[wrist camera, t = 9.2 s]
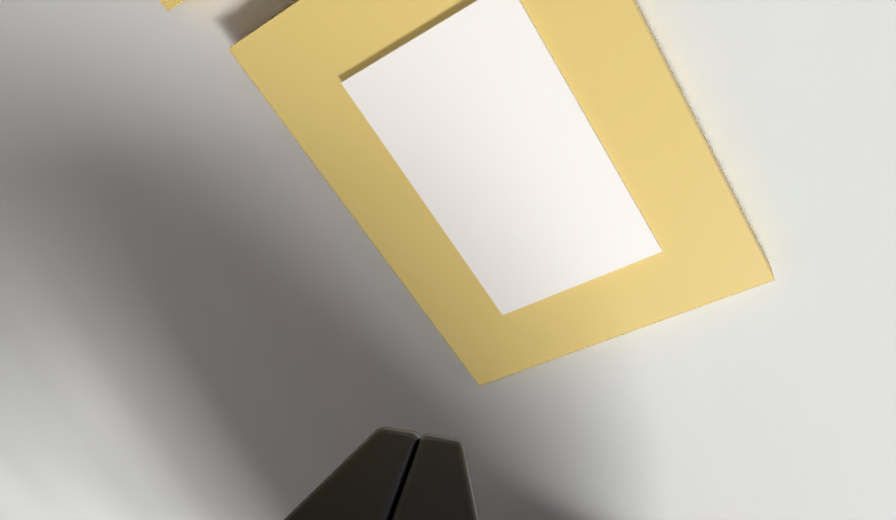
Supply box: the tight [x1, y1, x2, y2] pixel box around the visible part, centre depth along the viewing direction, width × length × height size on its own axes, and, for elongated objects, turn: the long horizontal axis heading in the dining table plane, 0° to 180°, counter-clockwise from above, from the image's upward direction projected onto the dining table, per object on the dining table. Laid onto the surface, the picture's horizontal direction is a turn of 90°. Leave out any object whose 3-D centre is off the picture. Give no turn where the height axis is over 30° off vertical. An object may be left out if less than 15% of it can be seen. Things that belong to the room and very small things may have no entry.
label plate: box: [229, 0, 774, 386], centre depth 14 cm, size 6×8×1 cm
